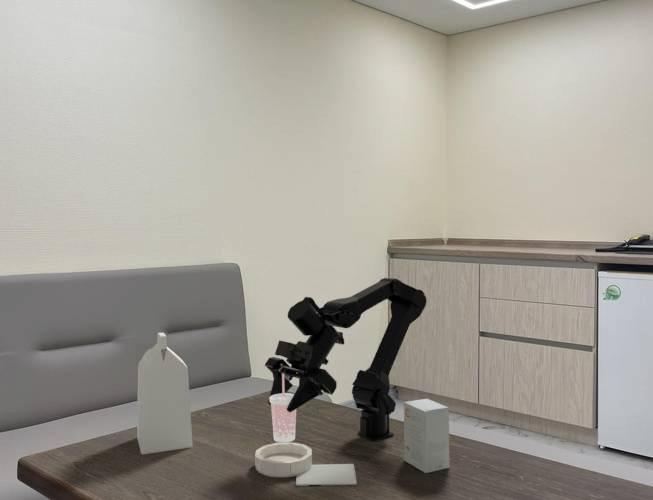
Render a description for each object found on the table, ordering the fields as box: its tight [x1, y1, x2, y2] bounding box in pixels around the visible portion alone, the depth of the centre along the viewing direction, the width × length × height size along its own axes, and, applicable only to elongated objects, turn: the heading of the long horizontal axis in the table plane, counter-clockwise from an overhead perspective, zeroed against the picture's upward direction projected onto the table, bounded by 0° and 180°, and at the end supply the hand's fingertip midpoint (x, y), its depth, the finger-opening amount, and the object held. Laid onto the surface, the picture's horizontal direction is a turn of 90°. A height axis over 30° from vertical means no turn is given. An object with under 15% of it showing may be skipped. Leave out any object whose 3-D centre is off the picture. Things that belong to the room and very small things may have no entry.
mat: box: [295, 463, 358, 487], centre depth 125 cm, size 12×10×1 cm
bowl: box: [254, 441, 313, 479], centre depth 130 cm, size 12×12×3 cm
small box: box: [403, 398, 450, 474], centre depth 130 cm, size 8×6×13 cm
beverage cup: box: [268, 373, 297, 443], centre depth 130 cm, size 6×6×14 cm
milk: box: [136, 332, 193, 455], centre depth 145 cm, size 12×12×26 cm
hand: (278, 408), depth 129 cm, fingers closed on beverage cup, 6 cm apart
